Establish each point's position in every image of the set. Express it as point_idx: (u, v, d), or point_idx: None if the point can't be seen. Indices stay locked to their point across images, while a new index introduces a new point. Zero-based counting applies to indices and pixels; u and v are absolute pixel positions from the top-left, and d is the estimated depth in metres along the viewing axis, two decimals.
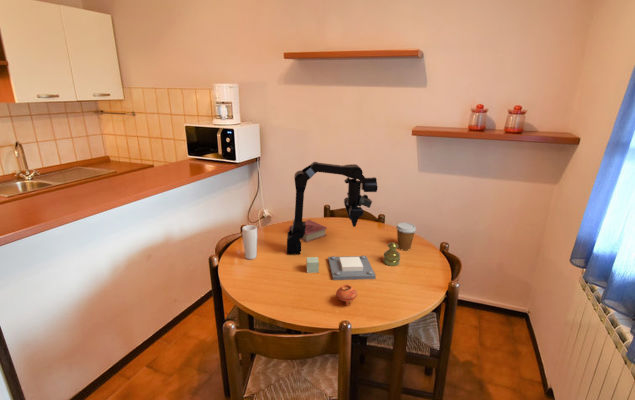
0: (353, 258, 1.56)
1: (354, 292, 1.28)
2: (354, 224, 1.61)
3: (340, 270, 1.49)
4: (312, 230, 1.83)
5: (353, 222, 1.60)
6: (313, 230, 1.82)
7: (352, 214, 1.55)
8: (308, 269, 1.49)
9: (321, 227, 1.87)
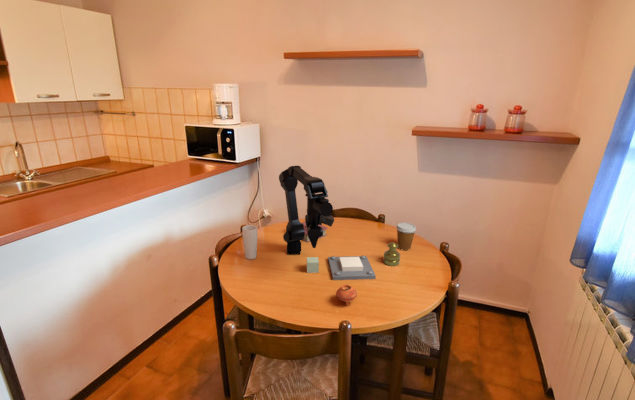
0: (353, 258, 1.56)
1: (354, 292, 1.28)
2: (314, 245, 1.43)
3: (340, 270, 1.49)
4: None
5: (312, 243, 1.42)
6: None
7: (310, 235, 1.37)
8: (308, 269, 1.49)
9: (322, 227, 1.86)
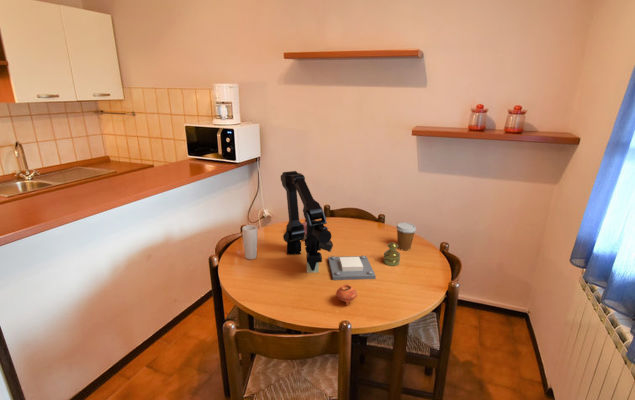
0: (353, 258, 1.56)
1: (354, 292, 1.28)
2: (312, 268, 1.48)
3: (340, 270, 1.49)
4: None
5: (311, 266, 1.48)
6: None
7: (309, 261, 1.40)
8: (308, 269, 1.49)
9: None
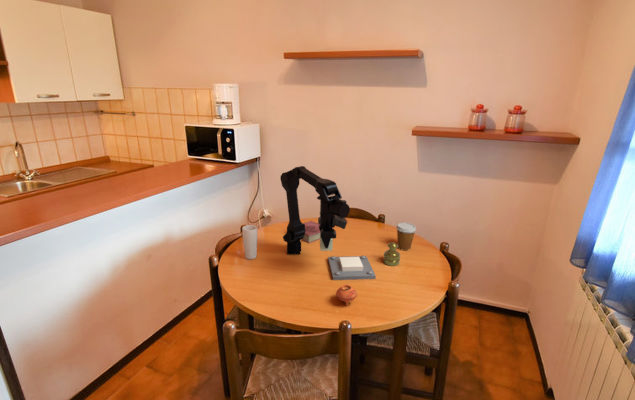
0: (353, 258, 1.56)
1: (354, 292, 1.28)
2: (326, 245, 1.45)
3: (340, 270, 1.49)
4: (314, 231, 1.82)
5: (325, 243, 1.45)
6: (315, 231, 1.81)
7: (323, 237, 1.37)
8: (322, 247, 1.46)
9: None
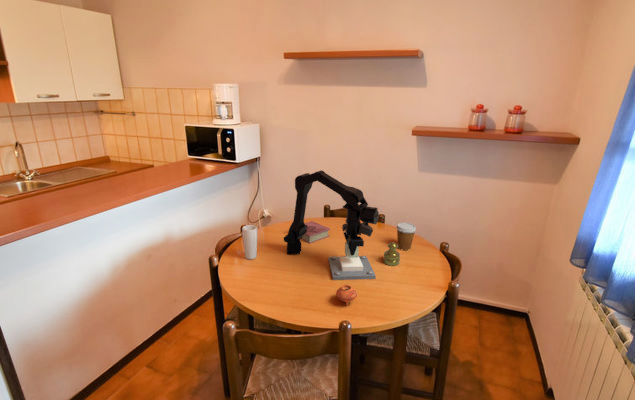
0: (353, 258, 1.56)
1: (354, 292, 1.28)
2: (352, 253, 1.48)
3: (340, 270, 1.49)
4: (315, 231, 1.82)
5: (351, 251, 1.47)
6: (316, 231, 1.81)
7: (351, 245, 1.40)
8: (348, 254, 1.49)
9: (324, 228, 1.85)
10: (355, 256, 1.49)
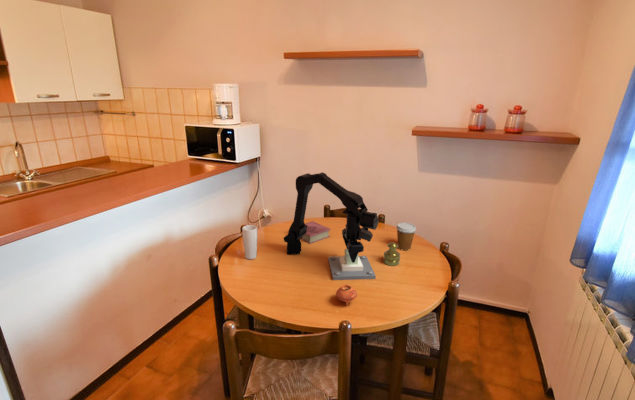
0: None
1: (354, 292, 1.28)
2: (353, 260, 1.47)
3: (340, 270, 1.49)
4: (315, 231, 1.81)
5: (352, 258, 1.46)
6: (317, 232, 1.81)
7: (351, 250, 1.41)
8: (347, 261, 1.50)
9: (324, 228, 1.85)
10: (355, 263, 1.50)
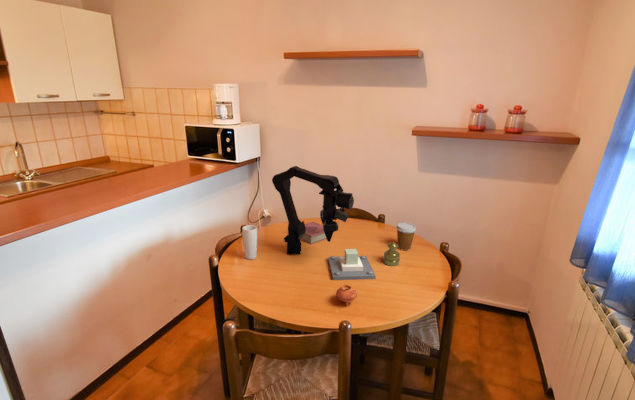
0: None
1: (354, 292, 1.28)
2: (329, 239, 1.52)
3: (340, 270, 1.49)
4: (316, 231, 1.81)
5: (327, 237, 1.51)
6: (317, 232, 1.80)
7: (326, 229, 1.46)
8: (347, 261, 1.50)
9: None
10: (355, 263, 1.50)
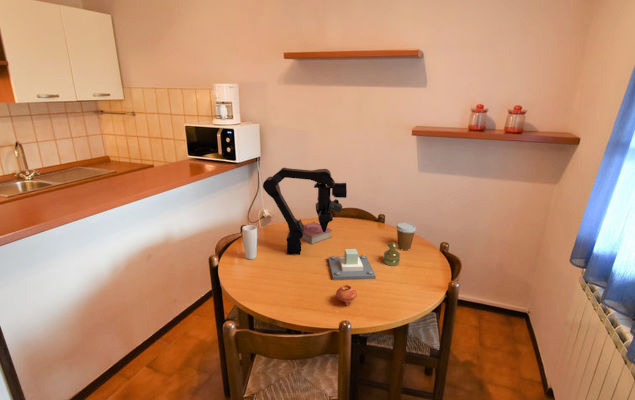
0: None
1: (354, 292, 1.28)
2: (324, 229, 1.59)
3: (340, 270, 1.49)
4: (317, 232, 1.80)
5: (323, 227, 1.58)
6: (318, 232, 1.80)
7: (321, 219, 1.52)
8: (347, 261, 1.50)
9: (326, 229, 1.84)
10: (355, 263, 1.50)
